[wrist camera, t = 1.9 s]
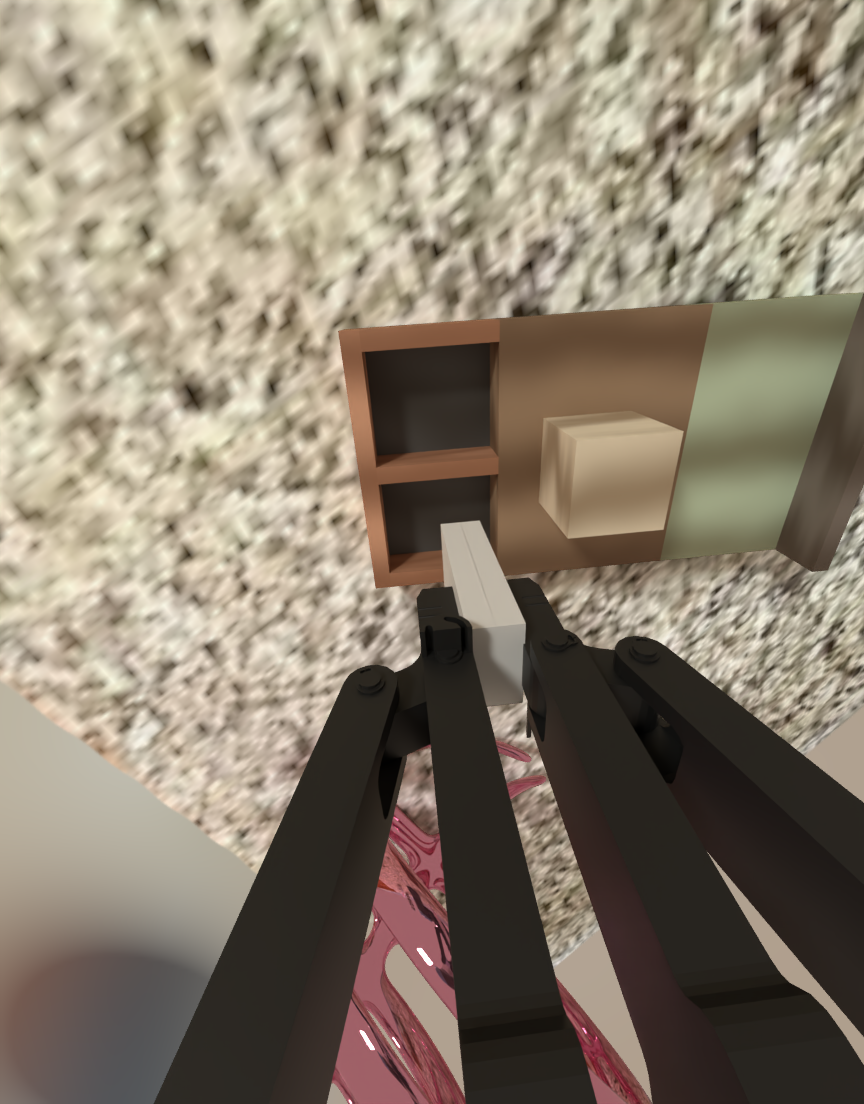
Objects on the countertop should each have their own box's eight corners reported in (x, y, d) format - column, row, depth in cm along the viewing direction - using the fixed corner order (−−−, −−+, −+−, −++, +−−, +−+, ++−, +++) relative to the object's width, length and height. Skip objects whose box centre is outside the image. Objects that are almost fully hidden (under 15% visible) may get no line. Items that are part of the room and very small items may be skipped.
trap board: (344, 329, 24) (331, 333, 19) (831, 294, 26) (945, 288, 20) (377, 565, 32) (374, 615, 26) (757, 529, 33) (827, 570, 27)
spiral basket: (812, 900, 18) (300, 2186, 9) (728, 952, 37) (535, 1382, 27) (393, 612, 37) (84, 925, 27) (478, 743, 55) (312, 957, 46)
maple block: (543, 418, 25) (576, 440, 20) (631, 410, 25) (683, 431, 20) (538, 502, 27) (567, 538, 23) (619, 494, 27) (663, 529, 23)
